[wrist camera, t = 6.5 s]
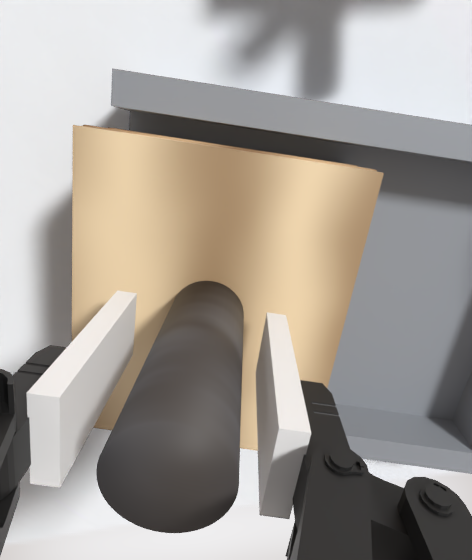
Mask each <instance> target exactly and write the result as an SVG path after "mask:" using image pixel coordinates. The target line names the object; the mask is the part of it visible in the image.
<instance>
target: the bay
mask: <svg viewBox="0 0 472 560" xmlns="http://www.w3.org/2000/svg"><path fill="white" fill-rule="evenodd" d="M111 106H114V107H118V108H122V109H125V110H129V111H130V123H129V130H130V131H136V132H143V133H149V134H156V135H162V136H169V137H175V138H182V139H188V140H195V141H201V142H208V143H214V144H221V145H227V146H234V147H240V148H247V149H253V150H260V151H266V152H273V153H279V154H286V155H292V156H299V157H305V158H312V159H318V160H325V161H331V162H338V163H344V164H351V165H356V166H358V167H363V168H370V169H375V170H377V172H382V173H384V175H383V178H382V182H381V186H380V190H379V194H378V197H377V201H376V205H375V209H374V213H373V216H372V220H371V224H370V228H369V232H368V235H367V239H366V243H365V247H364V251H363V254H362V258H361V262H360V266H359V270H358V273H357V277H356V281H355V285H354V289H353V292H352V296H351V300H350V304H349V308H348V311H347V315H346V319H345V323H344V327H343V330H342V334H341V338H340V342H339V346H338V350H337V353H336V357H335V361H334V365H333V369H332V372H331V376H330V380H329V384H328V388H327V389H328V390H329V391H330V392H331V393H332V395H333V398H334V401H335V404H336V407H337V410H338V413H339V417H340V419H341V422H342V426H343V429H344V432H345V435H346V438H347V441H348V444H349V447H350V449H351V450H352V451H354V452H355V453H356V454H357V455H359V456H360V457H361V458H363V459H370V460H377V461H384V462H391V463H399V464H406V465H413V466H420V467H427V468H434V469H441V470H449V471H456V472H463V473H470V474H472V125H469V124H463V123H456V122H450V121H443V120H437V119H431V118H424V117H418V116H412V115H405V114H399V113H392V112H386V111H380V110H373V109H367V108H360V107H354V106H348V105H341V104H335V103H329V102H322V101H316V100H309V99H303V98H297V97H290V96H284V95H278V94H271V93H265V92H258V91H252V90H246V89H239V88H233V87H226V86H220V85H214V84H207V83H201V82H195V81H188V80H182V79H175V78H169V77H163V76H156V75H150V74H143V73H137V72H131V71H124V70H118V69H112V93H111Z"/></svg>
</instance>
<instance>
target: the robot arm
mask: <svg viewBox="0 0 472 560" xmlns="http://www.w3.org/2000/svg"><path fill="white" fill-rule="evenodd" d="M136 300H137V293H131V292H124V291H118V290H117V292H116V293H115V294H114V295H113V296H112V297H111V298H110V299H109V301H108V302H107V303H106V304H105V305H104V306H103V307H102V308H101V310H100V311H99V312H98V313H97V314H96V315H95V316H94V317H93V319H92V320H91V321H90V322H89V323H88V324H87V325H86V326H85V328H84V329H83V330H82V331H81V332H80V333H79V334H78V335H77V337H76V338H75V339H74V340H73V341H72V342H71V343H70V344H69V346H68V347H67V348H66V347H59V346H52V345H50V346H48V347H46V348H44V349H42V350H40V351H38V352H36V353H35V354H34V355H33V356H32V357H31V358H30V359H29V360H28V361H27V362H26V364H24V365H23V366H22V367H21V368H20V369H19V370H18V372H16V373H15V374H14V375H13V376H12V375H11V373H10V372H7V371H5V370H2V369H0V555H1V552H2V549H3V546H4V543H5V540H6V537H7V534H8V530H9V527H10V524H11V521H12V518H13V515H14V512H15V509H16V506H17V503H18V500H19V494H20V483H19V481H20V480H21V478H22V477H23V476H24V474H25V473H26V471H27V470H28V468H29V469H30V484H36V485H43V486H50V487H58V488H60V487H61V485H62V484H63V482H64V480H65V478H66V476H67V474H68V473H69V471H70V469H71V467H72V465H73V463H74V462H75V460H76V458H77V456H78V454H79V452H80V451H81V449H82V447H83V445H84V443H85V442H86V440H87V438H88V436H89V434H90V432H91V431H92V429H93V427H94V425H95V423H96V421H97V420H98V418H99V416H100V414H101V412H102V410H103V409H104V407H105V405H106V403H107V401H108V399H109V398H110V396H111V394H112V392H113V390H114V388H115V387H116V385H117V383H118V381H119V379H120V377H121V376H122V374H123V372H124V370H125V368H126V366H127V365H128V363H129V361H130V359H131V357H132V356H133V346H134V331H135V316H136ZM256 404H257V438H258V473H259V508H260V515H263V516H270V517H278V518H285V519H289V518H290V514H291V510H292V506H293V507H294V515H295V523H294V527H293V530H292V534H291V538H290V542H289V546H288V549H287V553H286V556H287V560H472V516H471V514H470V512H469V510H468V509H467V507H466V505H465V504H464V503H463V501H462V500H461V499H460V498H459V496H458V495H457V494H455V493H454V492H453V491H452V490H450V489H449V488H448V487H447V486H445V485H443V484H441V483H439V482H438V481H436V480H433V479H429V478H426V477H413V478H411V479H409V480H408V481H407V483H406V485H405V487H404V488H402V487H399V486H397V485H394V484H392V483H389V482H387V481H384V480H382V479H380V478H378V477H375V476H373V475H372V474H370V473H369V472H368V468H367V465H366V464H365V462H364V461H363V460H362V458H361V457H360V456H359V455H357V454H356V453H355V452H354V451H352V450H351V449H350V447H349V444H348V441H347V438H346V435H345V432H344V429H343V426H342V422H341V419H340V417H339V413H338V410H337V407H336V404H335V401H334V398H333V395H332V393H331V392H330V391H329V390H328V389H327V388H326V387H325V385H324V384H323V383H318V382H311V381H304V380H300V378H299V373H298V368H297V364H296V359H295V354H294V350H293V345H292V340H291V336H290V331H289V326H288V322H287V317H286V315H282V314H275V313H268V312H267V314H266V319H265V325H264V330H263V335H262V341H261V346H260V351H259V357H258V362H257V367H256Z"/></svg>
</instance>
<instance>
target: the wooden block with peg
mask: <svg viewBox="0 0 472 560" xmlns="http://www.w3.org/2000/svg"><path fill="white" fill-rule="evenodd" d="M383 175H384V173H382V172H377V170H375V169H370V168H363V167H358V166H356V165H351V164H344V163H338V162H331V161H325V160H318V159H312V158H305V157H299V156H292V155H286V154H279V153H273V152H266V151H260V150H253V149H247V148H240V147H234V146H227V145H221V144H214V143H208V142H201V141H195V140H188V139H182V138H175V137H169V136H162V135H156V134H149V133H143V132H136V131H130V130H123V129H117V128H109V127H108V128H103V127H97V126H90V125H83V126H76V125H73V195H72V341H73V340H74V339H75V338H76V337H77V335H78V334H79V333H80V332H81V331H82V330H83V329H84V328H85V326H86V325H87V324H88V323H89V322H90V321H91V320H92V319H93V317H94V316H95V315H96V314H97V313H98V312H99V311H100V310H101V308H102V307H103V306H104V305H105V304H106V303H107V302H108V301H109V299H110V298H111V297H112V296H113V295H114V294H115V293H116V292H117V290H118V291H124V292H131V293H137V300H136V316H135V331H134V346H133V356H132V357H131V359H130V361H129V363H128V365H127V366H126V368H125V370H124V372H123V374H122V376H121V377H120V379H119V381H118V383H117V385H116V387H115V388H114V390H113V392H112V394H111V396H110V398H109V399H108V401H107V403H106V405H105V407H104V409H103V410H102V412H101V414H100V416H99V418H98V420H97V421H96V423H95V425H94V427H93V428H100V429H107V430H112V432H111V434H110V436H109V438H108V440H107V442H106V444H105V447H104V449H103V451H102V453H101V455H100V457H99V460H98V464H97V481H98V486H99V488H100V491H101V493H102V495H103V497H104V498H105V500H106V501H107V503H108V504H109V505H110V506H111V507H112V508H113V509H114V510H115V511H116V512H117V513H118V514H119V515H120V516H122V517H123V518H125V519H126V520H128V521H130V522H132V523H133V524H135V525H138V526H140V527H143V528H146V529H150V530H153V531H158V532H165V533H182V532H190V531H195V530H198V529H201V528H204V527H206V526H209V525H211V524H213V523H214V522H216V521H217V520H219V519H220V518H221V517H223V516H224V515H225V514H226V513H227V512H228V510H229V509H230V508H231V506H232V505H233V503H234V501H235V499H236V496H237V492H238V486H239V459H240V448H243V449H250V450H258V438H257V404H256V367H257V362H258V357H259V351H260V346H261V341H262V335H263V330H264V325H265V319H266V314H267V312H268V313H275V314H282V315H286V317H287V322H288V326H289V331H290V336H291V340H292V345H293V350H294V354H295V359H296V364H297V368H298V373H299V378H300V380H304V381H311V382H318V383H323V384H324V385H325V387H326V388H328V384H329V380H330V376H331V372H332V369H333V365H334V361H335V357H336V353H337V350H338V346H339V342H340V338H341V334H342V330H343V327H344V323H345V319H346V315H347V311H348V308H349V304H350V300H351V296H352V292H353V289H354V285H355V281H356V277H357V273H358V270H359V266H360V262H361V258H362V254H363V251H364V247H365V243H366V239H367V235H368V232H369V228H370V224H371V220H372V216H373V213H374V209H375V205H376V201H377V197H378V194H379V190H380V186H381V182H382V178H383Z"/></svg>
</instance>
